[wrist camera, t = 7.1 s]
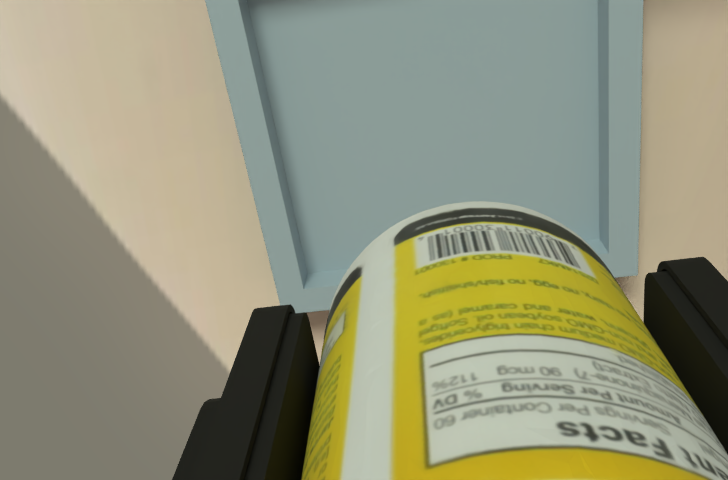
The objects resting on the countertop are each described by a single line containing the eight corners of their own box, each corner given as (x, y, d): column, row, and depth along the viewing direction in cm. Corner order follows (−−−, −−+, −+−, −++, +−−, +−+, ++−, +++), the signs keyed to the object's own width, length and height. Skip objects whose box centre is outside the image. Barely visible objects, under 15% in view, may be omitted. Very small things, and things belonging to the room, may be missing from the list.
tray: (625, -134, 20) (646, -139, 18) (622, 252, 25) (637, 275, 24) (206, -60, 21) (191, -58, 20) (289, 290, 27) (282, 315, 25)
